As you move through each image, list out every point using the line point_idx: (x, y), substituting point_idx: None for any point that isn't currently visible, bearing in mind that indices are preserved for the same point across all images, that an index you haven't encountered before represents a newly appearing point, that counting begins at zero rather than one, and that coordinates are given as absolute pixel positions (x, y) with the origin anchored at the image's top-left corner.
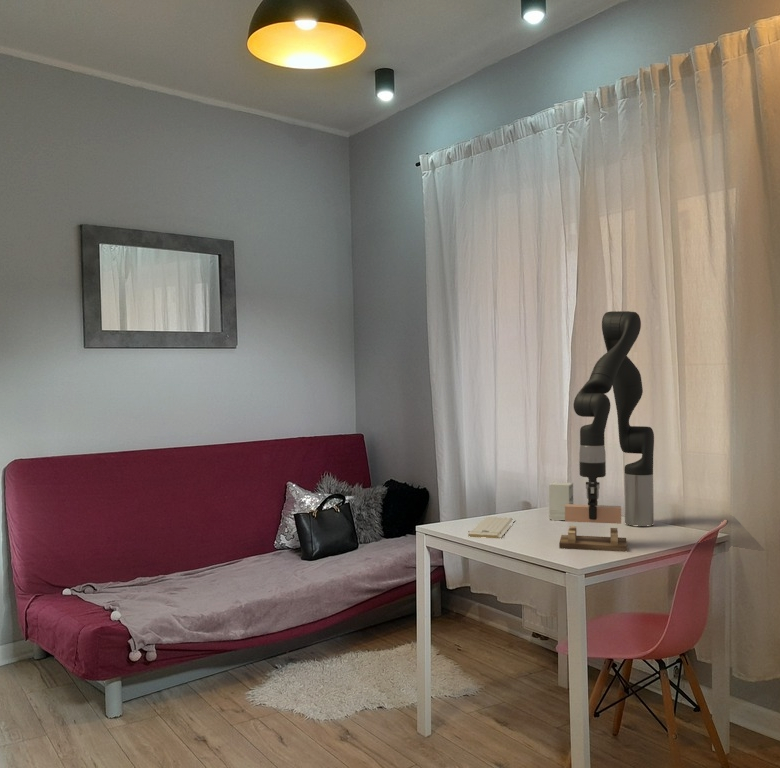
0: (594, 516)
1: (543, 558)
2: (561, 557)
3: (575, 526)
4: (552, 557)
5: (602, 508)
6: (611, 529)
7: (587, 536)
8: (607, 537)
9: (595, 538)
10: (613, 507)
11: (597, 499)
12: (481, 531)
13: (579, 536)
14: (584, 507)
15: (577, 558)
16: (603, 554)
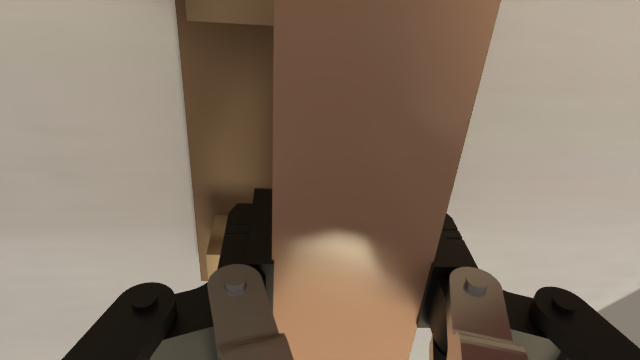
0: (448, 223)
1: (596, 305)
2: (590, 250)
3: (209, 258)
4: (584, 279)
5: (445, 201)
6: (264, 16)
7: (204, 157)
8: (199, 27)
9: (257, 111)
10: (439, 73)
11: (156, 295)
12: None
13: (219, 200)
14: (409, 348)
15: (623, 191)
16: (556, 64)
